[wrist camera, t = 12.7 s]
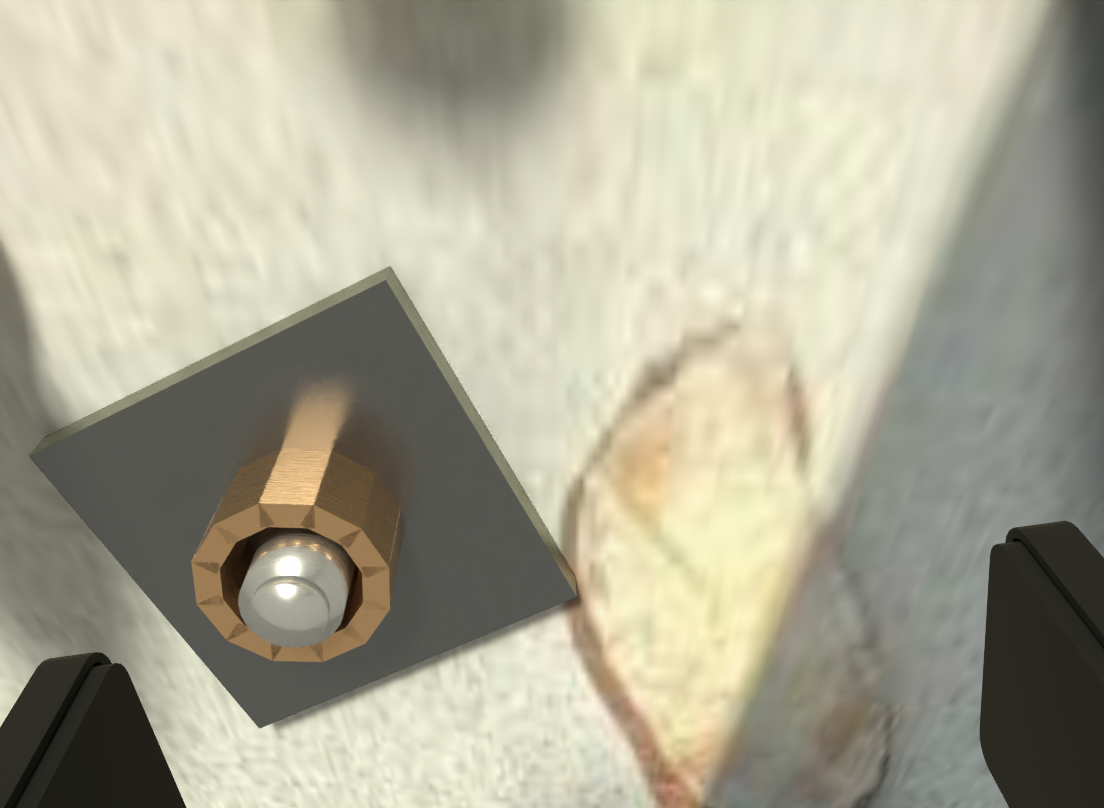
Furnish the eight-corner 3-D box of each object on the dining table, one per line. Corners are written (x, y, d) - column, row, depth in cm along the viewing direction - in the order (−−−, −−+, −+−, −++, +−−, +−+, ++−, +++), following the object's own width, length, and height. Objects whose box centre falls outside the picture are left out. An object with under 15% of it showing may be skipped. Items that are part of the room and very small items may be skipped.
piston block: (390, 266, 38) (365, 341, 32) (575, 575, 45) (584, 688, 39) (44, 437, 41) (-42, 537, 35) (266, 704, 48) (228, 829, 42)
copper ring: (339, 420, 40) (321, 473, 36) (433, 556, 43) (425, 617, 39) (185, 494, 41) (153, 553, 37) (286, 621, 44) (265, 687, 40)
